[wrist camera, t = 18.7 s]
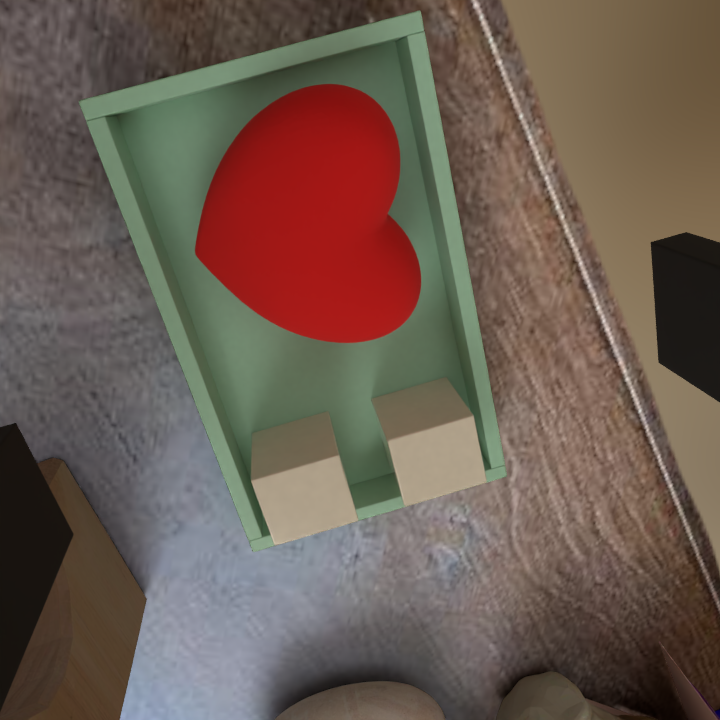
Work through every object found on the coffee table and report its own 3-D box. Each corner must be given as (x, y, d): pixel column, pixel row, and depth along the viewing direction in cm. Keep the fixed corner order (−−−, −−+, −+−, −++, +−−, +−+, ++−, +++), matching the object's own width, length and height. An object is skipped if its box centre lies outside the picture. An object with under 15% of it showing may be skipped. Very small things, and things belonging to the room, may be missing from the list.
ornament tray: (95, 101, 30) (77, 100, 27) (404, 19, 30) (421, 10, 27) (253, 517, 39) (252, 552, 36) (488, 448, 39) (507, 476, 36)
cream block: (251, 432, 36) (250, 480, 31) (328, 410, 36) (339, 454, 31) (272, 492, 37) (274, 546, 33) (346, 470, 38) (359, 521, 33)
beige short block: (370, 397, 36) (387, 440, 32) (446, 375, 36) (474, 415, 32) (386, 458, 38) (404, 507, 33) (459, 436, 38) (487, 482, 33)
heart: (241, 334, 35) (425, 300, 34) (223, 389, 31) (435, 352, 30) (166, 110, 30) (383, 61, 28) (129, 136, 25) (388, 78, 24)
